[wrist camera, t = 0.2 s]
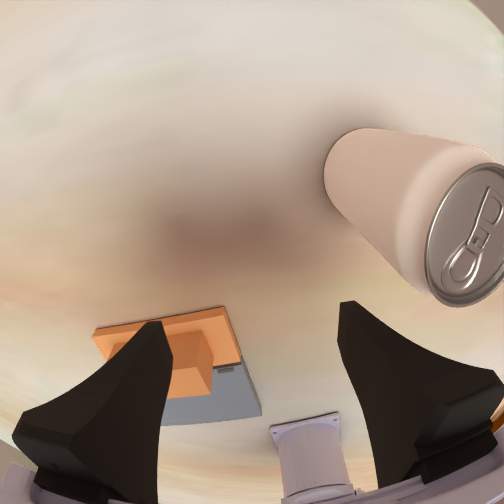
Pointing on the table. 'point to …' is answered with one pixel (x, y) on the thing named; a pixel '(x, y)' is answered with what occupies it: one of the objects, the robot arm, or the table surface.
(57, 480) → the robot arm
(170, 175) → the table surface
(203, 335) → the stub
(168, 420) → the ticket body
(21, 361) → the table surface
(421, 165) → the can
